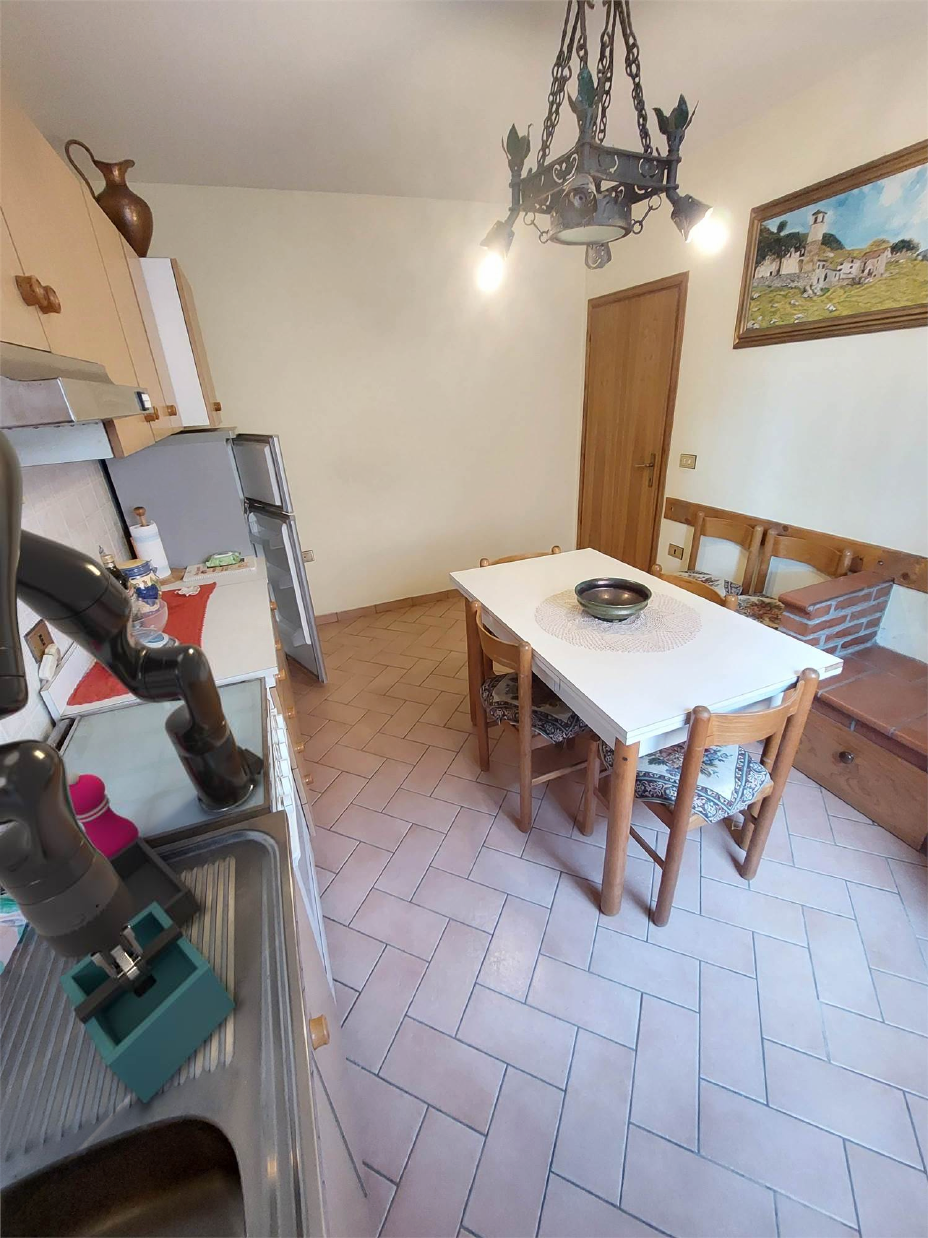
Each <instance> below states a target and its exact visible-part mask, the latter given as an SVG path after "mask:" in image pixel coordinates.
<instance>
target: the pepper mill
mask: <svg viewBox="0 0 928 1238" xmlns="http://www.w3.org/2000/svg"><path fill="white" fill-rule="evenodd" d="M67 774H68V782H69V788H70V794H71V798H72V802H73V806H74V810H75V814H76V817H77V820H78V823H80V824H81V825H82V828H84V829H83V830H84V831H85V833H86V834H87V836H88V837H89V839H90V840H91V842H92V843H93V845H94V846H95V847H96V848H97V849H98V850H99V851H100V852H101V853H102V854H103V855H104V856H105V857H106V858H107V859H109V858H110V857H112V856H113V855H114V854H116V853H117V852H119V851H120V850H121V849H123V848H124V847H126V846H127V845H128V844H130V843H131V842H132V841H134V840H135V839H137V838H138V837H139V829H138V827H137V826H136V824H135V822H133V821H132V820H130V819H129V818H126V817H124V816H121V815H120V814H117V813H116V812H115V811H113V809H112V808H111V806H110V803H111V800H110V798H109V797H108V795H107V793H105V792H106V785H105V783H104V781H103V780H102V778H100V777H99V776H97V775H95V774H90V773H88V774H85V773H84V774H80V775H79V774H78V773H77V772H70V773H67Z"/></svg>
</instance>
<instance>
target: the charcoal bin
mask: <svg viewBox="0 0 928 1238" xmlns="http://www.w3.org/2000/svg"><path fill="white" fill-rule="evenodd" d="M108 861H109V862H110V864H111V865H112V866H113V868H114V869H115V871H116V872H117V874H118V875H119V877H120V878H121V880H122V881H123V883H124V884H125V885H126V887H127V888H128V890H129V891H130V893H131V894H132V897H133V908H132V911H131V914H130V916H129V918H128V920H127V922H126V923H129V922H130V921H131V920H132V919H133V918H135V917H136V916H137V915H138V914H140V913H141V912H142V911H143V910H145V909H146V908H147V907H148V906H149V905H151V904H152V903H153V902H154V901H155V902H156V903H157V904H158V905H159V906H160V908H161V909H162V910H163V911H164V912H165V913H166V915H167V916H168V917H169V918H170V919H171V920H172V922H173V923H175V924H176V925H177V926H178V927H179V929H180V928H181V927H183V926H184V925H185V924H187V922H188V921H190V919H191V918H193V917H194V916H195V915H196V914H197V913H198V912H200V911H201V910H202V907H201V905H200V903H199V902H198V900H197V898H196V896H195V895H194V893H193V891H192V890H191V888H190V887H189V885H187V884H186V883H185V881H184V880H182V879H181V878H180V877H179V875H177V874H176V873H175V872H174V870H173V869H172V868H171V867H170V866H169V865H168V864H167V863H166V862H165V861H164V860H163V859H162V858H161V857H160V856H159V855H158V853H156V852H155V851H154V849H152V847H151V846H150V845H149V844H148V843H147V842H146V841H145V840H144V839H143V838H142V837H141V836H138V838H137V839H135V840H134V841H132V842H131V843H130V844H128V845H127V846H126V847H124V848H123V849H121V850H120V851H119V852H117V853H116V854H114V855H113V856H112V857H110V858H109V859H108ZM126 923H125V924H126ZM88 955H89V954H87V955H84V956H80V957H76V958H77V959H78V961H79V962H81V961H82V960H83V959H84V958H86V957H87V956H88Z"/></svg>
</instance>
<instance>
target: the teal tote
mask: <svg viewBox="0 0 928 1238" xmlns="http://www.w3.org/2000/svg"><path fill="white" fill-rule="evenodd" d="M127 924H128V926H129V927H130V928H131V930H132V931H133V933H134V934H135V937H134V939H135V940H136V942H137V943H138V944H139V946H140V947H141V949H142V950H143V954H142V955H141V958H142V960H143V959H145V961H146V962H147V963H146V965H147V966H148V967H149V966H150V968H151V969H152V970H150V971H151V972H152V975H153V976H154V978H155V979H156V983H155V985H154V986H153V987H152V988H151V989H150V990H149V991H147V992H146V993H145V994H144V995H143V996H142V997H140V998H138V997H137V996H136V995H135V994H134V993H133V991H132V992H131V993H130V992H129V991H126V990H125V988H124V987H123V986H122V985H121V986H120V985H119V984H118V982H119V980H118V979H117V977H116V978H111V977H110V976H109V974H108V973H107V972H106V971H105V969H104V968H103V967H102V966H97V965H96V964H95V962H94V961H93V960H92V959H91V957H90V956H89V955H88V956H87V957H86V958H84V959H83V960H82V961H81V962H80V961H79V962H78V963H77V964H76V965H75V966H73V967H72V968H71V969H70V970H68V971H67V972H66V973H65V974H63V975H62V976H60V978H58V982H59V983H60V985H61V987H62V988H63V989H62V990H63V991H64V992H65V994H66V996H67V997H68V999H69V1002H70V1003H71V1005H72V1006H73V1012H74V1013H75V1016H76V1017H77V1019H78V1020H79V1021H80V1022H81V1023H82V1025H83V1026H84V1028H85V1029H86V1032H87V1033H88V1035H89V1036H90V1038H91V1040H92V1042H93V1043H94V1045H95V1047H96V1049H97V1050H98V1053H99V1054H100V1056H101V1058H102V1059H103V1061H104V1063H105V1065H106V1066H107V1067H108V1069H110V1070H111V1071H112V1072H113V1073H114V1074H115V1075H116V1076H117V1078H118V1079H120V1080H121V1082H123V1083H124V1085H126V1086H127V1087H128V1088H129V1090H130V1091H132V1092H133V1093H134V1094H135V1095H136V1096H137V1097H138V1098H139V1099H140V1101H142V1102H143V1103H144V1104H147V1103H148V1102H149V1101H150V1100H151V1099H152V1097H154V1095H156V1093H157V1092H158V1091H159V1090H160V1089H161V1088H162V1087H163V1086H164V1085H165V1083H167V1081H168V1080H169V1079H170V1078H172V1076H173V1075H174V1074H175V1073H176V1072H177V1071H178V1070H179V1069H180V1067H182V1066H183V1064H184V1063H185V1062H187V1060H188V1059H189V1058H190V1057H191V1055H193V1053H194V1052H195V1051H197V1049H198V1048H199V1047H200V1046H201V1045H202V1044H203V1043H204V1042H205V1040H207V1038H208V1037H209V1036H210V1035H211V1034H212V1033H213V1032H214V1031H215V1030H216V1029H217V1028H218V1027H219V1026H220V1024H221V1023H222V1022H223V1021H224V1020H226V1018H227V1017H228V1016H229V1015H230V1014H231V1013H232V1011H233V1010H234V1009H235V1008H236V1005H235V1002H234V1001H233V999H232V998H231V996H230V994H229V993H228V992H227V990H226V989H225V987H224V985H223V983H222V982H221V980H220V979H219V977H218V976H217V974H216V973H215V971H214V970H213V968H212V966H211V965H210V964H209V962H208V961H207V960H206V959H205V958H204V956H202V954H201V953H200V952H199V950H197V948H196V947H195V946H194V945H193V944H192V943H191V942H190V940H189V939H188V937H186V936H185V934H184V933H183V931H182V930H181V929H180V928H179V927H178V926H177V925H176V924H175V923H173V922H172V920H171V919H170V918H169V917H168V916H167V915H166V913H165V912H164V911H163V910H162V909H161V908H160V906H159V905H158V904H157V903H156V902H155V901H154V902H153V903H152V904H151V905H149V906H148V907H147V908H146V909H145V910H143V911H142V912H141V913H140V914H138V915H137V916H136V917H135V918H133V919H132V920H131V921H130V922H129V923H127Z"/></svg>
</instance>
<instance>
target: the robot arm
mask: <svg viewBox="0 0 928 1238" xmlns="http://www.w3.org/2000/svg"><path fill="white" fill-rule="evenodd" d="M23 483H24V482H23V473H22V467H21V463H20V459H19V456H18V454H17V451H16V449H15V447H14V444H13V443H12V441H11V440H10V439H9V437H8V436H7V434H6V432H5V431H4V430H3V429H2V428H1V427H0V721H2V720H5V719H7V718H10V717H12V716H15V715H16V714H18V713H20V712H21V711H22V710H24V709H25V708H26V707H27V705H28V703H29V699H30V695H29V684H28V680H27V672H26V671H27V670H26V666H25V657H24V653H23V645H22V640H21V634H20V624H19V616H18V614H19V613H18V600H19V601H20V602H22V603H23V604H24V605H26V606H27V607H28V608H29V609H30V610H31V611H32V612H34V613H35V614H36V616H38V617H39V618H41V619H42V620H44V621H45V622H46V623H48V624H49V625H50V626H51V627H52V628H54V629H55V630H57V631H58V632H60V633H61V634H63V635H64V636H65V637H67V638H68V639H69V640H71V641H73V642H74V643H75V644H76V645H77V646H79V647H80V648H81V649H82V650H84V652H86V653H87V654H89V655H90V656H91V657H92V658H93V659H94V660H96V661H97V662H98V663H100V665H102V666H103V667H104V668H105V669H106V670H107V671H108V672H109V673H110V674H111V675H112V676H113V677H114V678H115V679H116V680H117V681H118V683H120V684H121V685H122V686H123V688H125V689H126V690H127V691H128V692H129V693H130V694H131V695H132V696H133V697H134V698H136V699H137V700H139V701H141V702H144V703H146V704H163V703H172V702H173V703H174V702H182V701H183V704H181V705H179V706H177V708H175V709H174V710H173V711H172V712H170V714H168V716H167V718H166V719H165V722H164V730H165V732H166V735H167V737H168V739H169V740H170V742H171V743H170V744H171V745H172V746H173V748H174V751H175V753H176V754H177V757H178V758H179V760H180V762H181V764H182V767H183V768H184V771H185V772H186V775H187V776H188V778H189V779H188V780H189V781H190V782H191V784H192V786H193V789H194V790H195V793H196V797H197V801H198V803H199V804H200V805H201V807H202V808H204V809H205V810H206V811H208V812H222V811H226V810H228V809H231V808H233V807H234V808H237V807H239V806H240V805H242V804H243V803H244V802H246V801H247V799H248V798H249V797H250V796H251V794H252V792H253V790H254V788H255V787H256V786H258V782H257V780H256V779H257V778H256V777H255V776H256V775H257V776H261V774H262V771H263V770H264V769H265V767H264V766H265V762H264V759H263V758H262V757H260V756H259V755H257V754H256V753H254V752H253V751H251V750H250V749H248V748H246V747H245V748H243V747H241V746H240V745H238V744H237V742H236V739H235V736H234V734H233V732H232V731H233V730H232V729H231V727H230V724H229V722H228V720H227V718H226V715H225V712H224V709H223V705H222V698H221V694H220V691H219V689H218V688H219V687H218V686H217V683H216V680H215V677H214V674H213V670H212V668H211V665H210V662H209V659H208V658H207V657H208V656H207V655H206V654H205V652H204V650H203V649H202V648H201V647H199V646H198V645H196V644H194V643H193V644H192V643H185V644H177V645H176V644H175V645H167V646H158V647H152V646H149V645H146V644H144V643H143V642H142V641H140V640H139V639H138V638H137V637H136V636H135V635H134V634H133V632H132V625H133V619H134V616H133V615H134V614H133V612H134V611H133V610H134V608H133V602H132V599H131V597H130V594H129V592H127V590H126V589H125V588H124V586H123V585H122V584H121V583H120V582H119V581H118V580H117V579H116V578H115V577H114V576H113V575H112V574H111V573H110V572H109V571H108V570H107V568H105V567H104V565H102V564H101V563H100V562H99V561H98V560H96V559H95V558H93V557H92V556H90V555H88V554H87V553H85V552H82V551H81V550H78V549H76V548H74V547H71V546H69V545H66V544H64V543H61V542H59V541H56V540H53V539H51V538H48V537H45V536H42V535H39V534H38V533H34V532H31V531H29V530H26V529H24V528H22V517H23V516H22V515H23V500H24V499H23V498H24V497H23V495H24V493H23V491H24V487H23V486H24V484H23ZM68 774H69V773H68V769H67V764H66V761H65V759H64V757H63V755H62V754H61V752H60V751H59V750H58V749H57V748H55V747H54V746H53V745H51V744H49V743H47V742H45V741H43V740H39V739H36V738H25V739H18V740H14V741H13V740H12V741H9V742H5V743H0V826H5V825H7V824H11V823H12V825H10V826H9V827H7V828H6V829H5V830H4V831H2V832H1V833H0V886H1V887H2V888H3V889H4V891H5V892H6V893H7V894H8V895H9V896H10V897H11V898H12V900H14V902H15V903H16V905H17V907H18V909H19V910H20V912H21V914H22V916H23V917H24V919H25V920H26V921H27V922H28V923H29V925H31V926H32V927H33V929H34V930H35V931H36V932H37V933H38V934H39V936H41V938H42V939H43V940H44V941H45V942H46V944H48V946H49V947H50V948H51V949H52V950H53V951H54V952H55V953H56V954H57V955H58V956H60V957H63V958H66V959H74V958H77V957H80V956H84V955H87V954H89V956H90V957H91V959H92V960H93V961H94V962H95V964H96V965H97V966H102V967H103V968H104V969H105V971H106V972H107V973H108V974H109V976H110V977H111V978H116V977H117V979H118V980H119V982H118V984H119V985H120V986H121V985H122V986H123V987H124V988H125V990H126V991H129V992H130V993H131V992H132V991H133V993H134V994H135V995H136V996H137V997H138V998H140V997H142V996H143V995H144V994H145V993H146V992H147V991H149V990H150V989H151V988H152V987H153V986H154V985H155V983H156V979H155V978H154V976H153V975H152V972H151V971H150V970H152V969H151V968H150V966H149V967H148V966H147V965H146V963H147V962H146V961H145V959H143V960H142V958H141V955H142V954H143V950H142V949H141V947H140V946H139V944H138V943H137V942H136V940H135V939H134V937H135V934H134V933H133V931H132V930H131V928H130V927H129V926H128V924H127V923H126V922H127V920H128V918H129V916H130V914H131V911H132V908H133V897H132V894H131V893H130V891H129V890H128V888H127V887H126V885H125V884H124V883H123V881H122V880H121V878H120V877H119V875H118V874H117V872H116V871H115V869H114V868H113V866H112V865H111V864H110V862H109V861H108V859H107V858H106V857H105V856H104V855H103V854H102V853H101V852H100V851H99V850H98V849H97V848H96V847H95V846H94V845H93V843H92V842H91V840H90V839H89V837H88V836H87V834H86V833H85V829H83V828H84V827H83V826H81V823H80V822H78V820H77V817H76V814H75V810H74V806H73V802H72V798H71V794H70V788H69V782H68ZM125 923H126V924H125Z"/></svg>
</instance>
